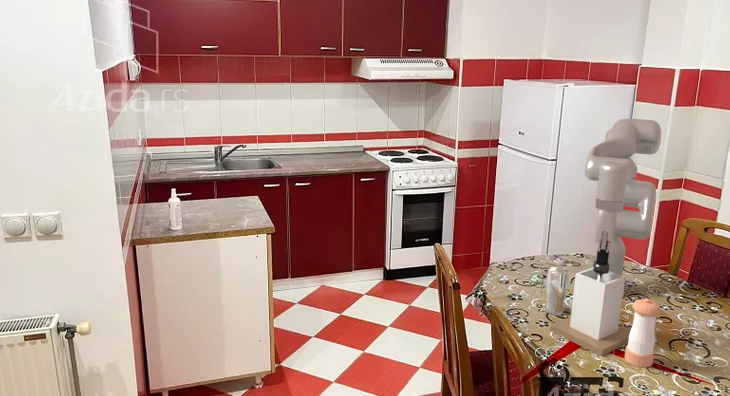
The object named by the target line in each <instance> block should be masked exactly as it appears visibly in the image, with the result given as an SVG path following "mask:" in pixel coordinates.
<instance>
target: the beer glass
mask: <svg viewBox="0 0 730 396" xmlns="http://www.w3.org/2000/svg"><path fill="white" fill-rule="evenodd" d="M569 273H570V272H569V270H568V269H567V268H564V267H562V266H550V267H549V268H547V273H546V280H545V289H546V304H545V307H544V312H545V313H547V314H549V315H552V316H562V315H563V314H564V312H565V311H564V301H565V298H566V294H567V291H568V288H569V275H570V274H569Z"/></svg>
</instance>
